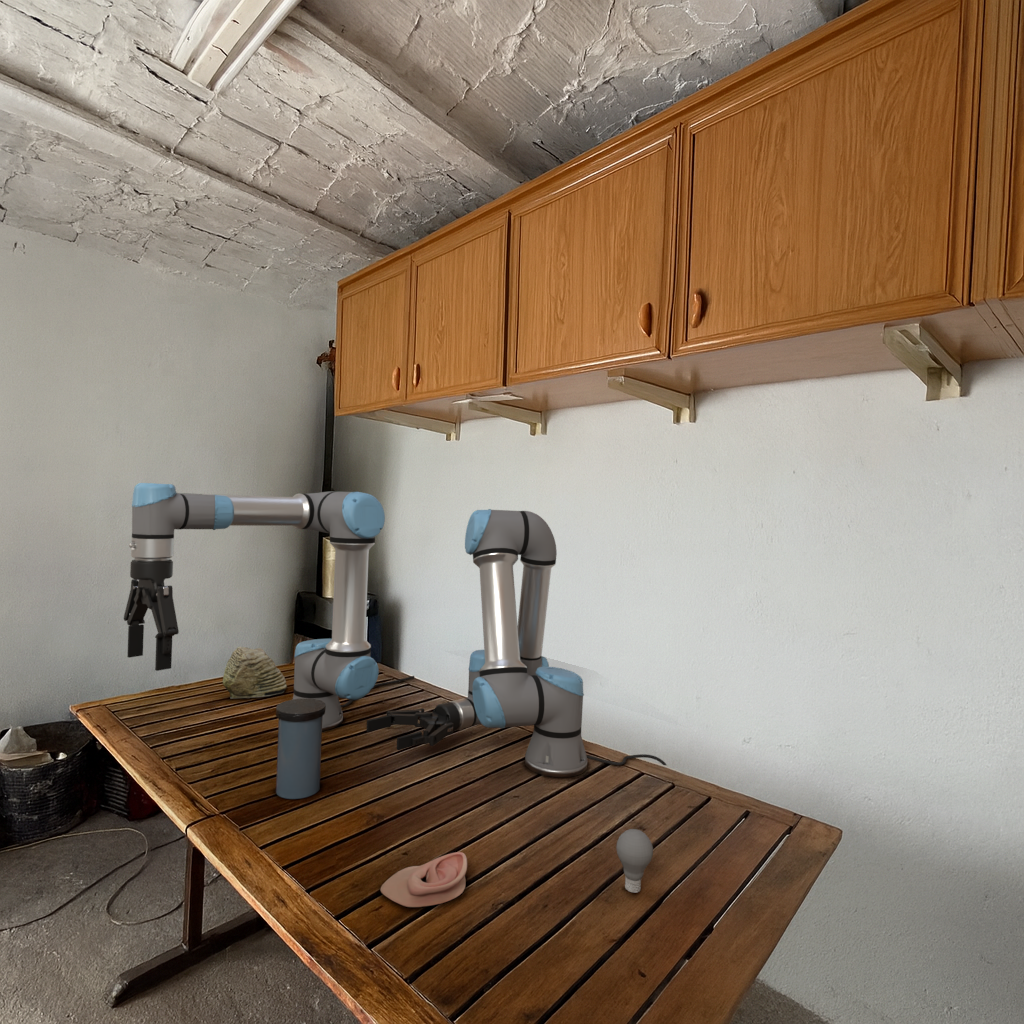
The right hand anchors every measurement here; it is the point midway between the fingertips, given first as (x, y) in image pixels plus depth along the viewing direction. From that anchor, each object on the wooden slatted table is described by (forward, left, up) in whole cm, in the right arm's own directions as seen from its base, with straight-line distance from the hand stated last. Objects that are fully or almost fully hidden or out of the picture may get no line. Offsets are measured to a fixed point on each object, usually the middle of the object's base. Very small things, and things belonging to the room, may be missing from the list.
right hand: (381, 734), depth 151 cm
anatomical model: (-2, +50, -7) cm, 51 cm away
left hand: (+49, +7, +21) cm, 53 cm away
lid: (+19, +9, +11) cm, 23 cm away
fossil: (+32, -60, -7) cm, 68 cm away
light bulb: (-35, +59, -7) cm, 69 cm away
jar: (+19, +9, -7) cm, 22 cm away
